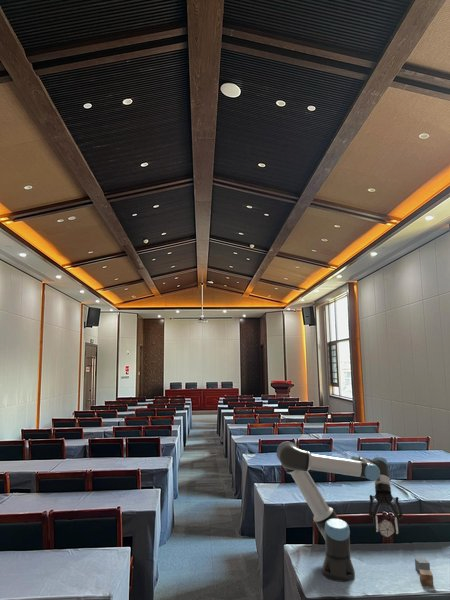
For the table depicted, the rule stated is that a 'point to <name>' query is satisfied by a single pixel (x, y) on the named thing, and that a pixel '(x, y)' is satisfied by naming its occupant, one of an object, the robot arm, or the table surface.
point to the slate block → (421, 564)
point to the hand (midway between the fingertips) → (387, 531)
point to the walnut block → (426, 578)
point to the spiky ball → (386, 528)
